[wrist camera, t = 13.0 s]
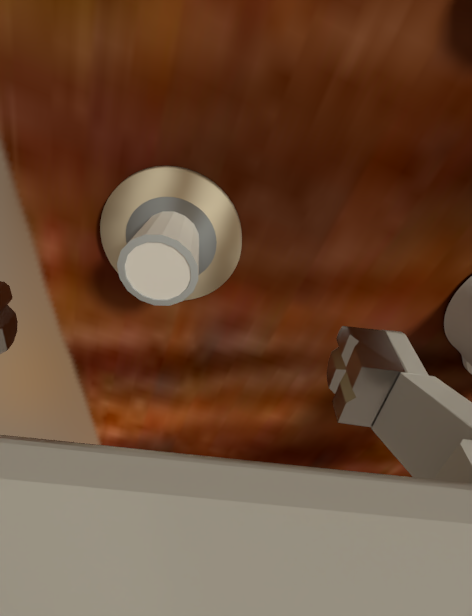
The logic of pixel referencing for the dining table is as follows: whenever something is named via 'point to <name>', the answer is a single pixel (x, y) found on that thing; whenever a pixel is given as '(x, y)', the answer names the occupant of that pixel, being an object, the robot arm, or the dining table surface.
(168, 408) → the dining table surface
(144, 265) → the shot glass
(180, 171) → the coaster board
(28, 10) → the dining table surface
